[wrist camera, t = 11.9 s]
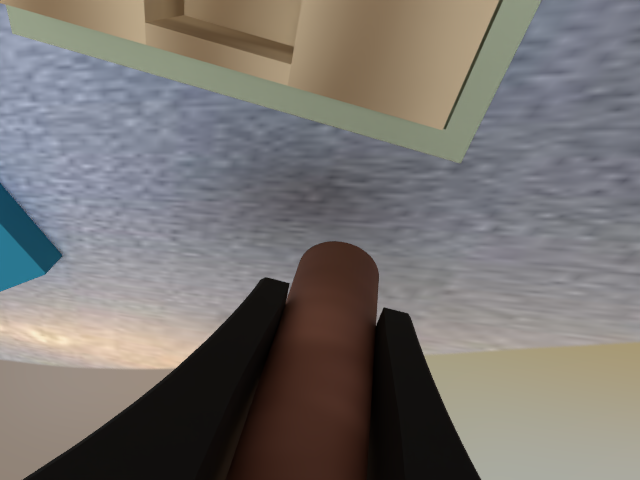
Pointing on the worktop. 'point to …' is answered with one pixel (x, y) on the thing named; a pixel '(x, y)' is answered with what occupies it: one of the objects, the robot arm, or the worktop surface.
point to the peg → (316, 375)
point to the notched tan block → (310, 43)
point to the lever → (21, 245)
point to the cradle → (448, 143)
